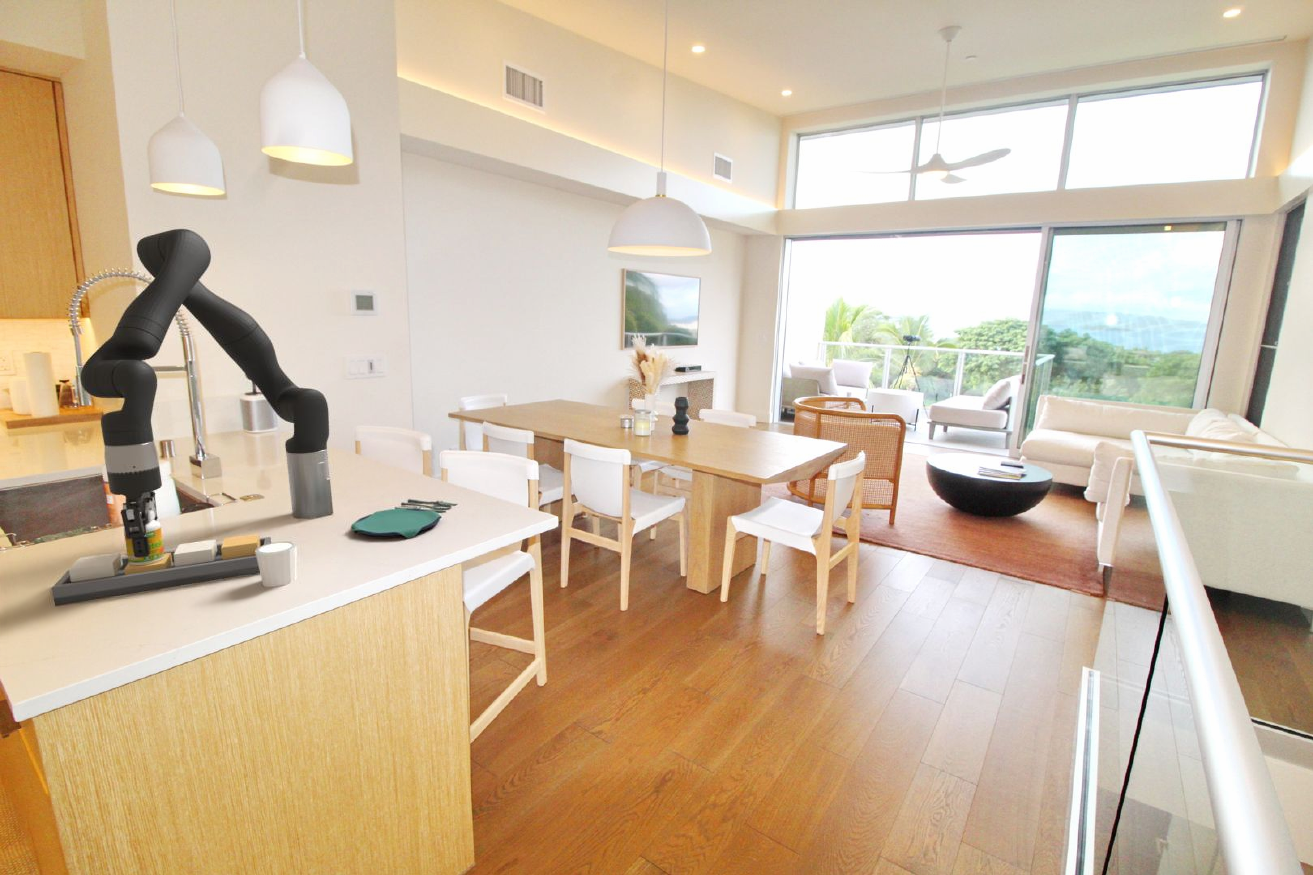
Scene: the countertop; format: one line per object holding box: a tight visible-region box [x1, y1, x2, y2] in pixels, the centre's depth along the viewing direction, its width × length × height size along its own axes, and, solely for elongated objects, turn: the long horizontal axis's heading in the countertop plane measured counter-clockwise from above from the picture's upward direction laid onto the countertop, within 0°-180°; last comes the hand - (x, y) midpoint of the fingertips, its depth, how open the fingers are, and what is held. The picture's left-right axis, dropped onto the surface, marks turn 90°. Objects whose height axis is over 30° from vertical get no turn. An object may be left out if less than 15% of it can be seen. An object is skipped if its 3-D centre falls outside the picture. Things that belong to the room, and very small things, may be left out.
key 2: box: [174, 539, 217, 567], centre depth 120 cm, size 6×6×2 cm
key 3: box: [124, 553, 173, 575], centre depth 116 cm, size 6×6×2 cm
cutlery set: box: [350, 498, 458, 539], centre depth 154 cm, size 20×30×2 cm, turn 173°
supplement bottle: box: [123, 510, 165, 565], centre depth 115 cm, size 5×5×10 cm
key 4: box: [68, 551, 123, 582], centre depth 112 cm, size 6×6×2 cm
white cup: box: [255, 541, 298, 588], centre depth 116 cm, size 7×7×7 cm
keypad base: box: [51, 536, 272, 607], centre depth 118 cm, size 32×12×4 cm, turn 120°
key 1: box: [221, 533, 261, 559], centre depth 123 cm, size 6×6×2 cm
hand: (146, 550), depth 116 cm, fingers closed on supplement bottle, 5 cm apart
